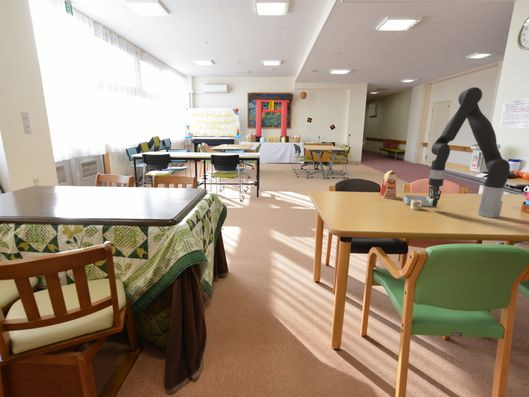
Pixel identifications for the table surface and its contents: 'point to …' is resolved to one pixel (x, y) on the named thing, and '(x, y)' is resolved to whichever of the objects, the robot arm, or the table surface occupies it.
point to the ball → (431, 201)
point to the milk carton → (389, 185)
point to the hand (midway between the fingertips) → (432, 205)
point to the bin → (423, 199)
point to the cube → (416, 204)
